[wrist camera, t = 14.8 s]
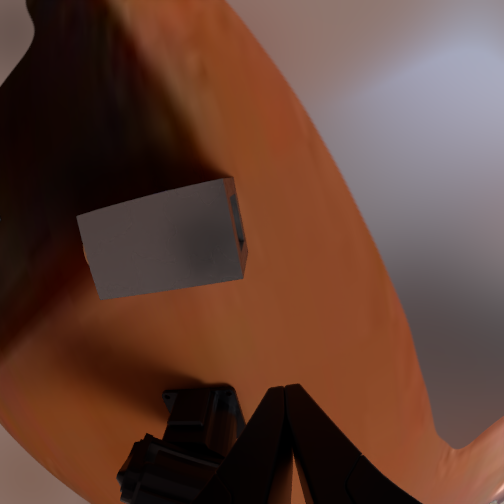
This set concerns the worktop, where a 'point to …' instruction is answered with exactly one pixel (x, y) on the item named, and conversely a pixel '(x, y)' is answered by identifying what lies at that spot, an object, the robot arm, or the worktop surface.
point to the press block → (166, 240)
